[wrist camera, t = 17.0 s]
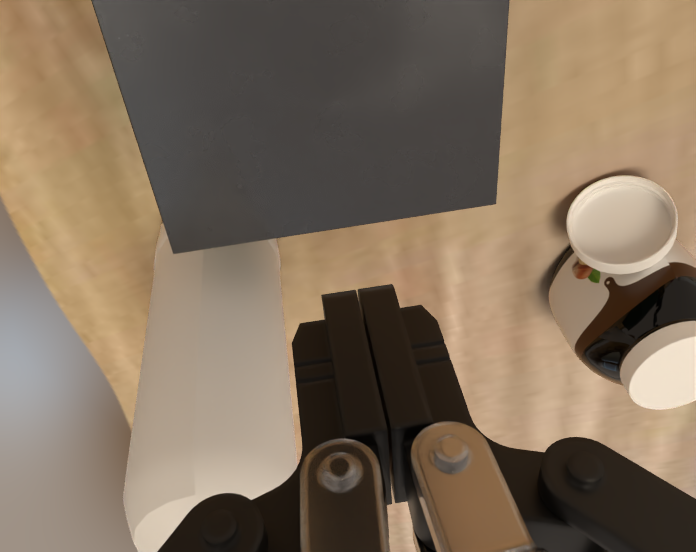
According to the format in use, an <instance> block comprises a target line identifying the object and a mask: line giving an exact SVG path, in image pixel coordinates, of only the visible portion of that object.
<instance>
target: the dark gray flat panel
mask: <svg viewBox="0 0 696 552" xmlns="http://www.w3.org/2000/svg"><path fill="white" fill-rule="evenodd" d="M91 1H92V4H93V7H94V10H95V13H96V16H97V19H98V23H99V26H100V29H101V32H102V35H103V38H104V41H105V44H106V47H107V50H108V54H109V57H110V60H111V63H112V66H113V69H114V72H115V75H116V78H117V81H118V84H119V88H120V91H121V94H122V97H123V100H124V103H125V106H126V109H127V112H128V115H129V119H130V122H131V125H132V128H133V131H134V134H135V137H136V140H137V143H138V146H139V149H140V153H141V156H142V159H143V162H144V165H145V168H146V171H147V174H148V177H149V180H150V184H151V187H152V190H153V193H154V196H155V199H156V202H157V205H158V208H159V211H160V214H161V218H162V221H163V224H164V227H165V230H166V233H167V236H168V239H169V242H170V245H171V249H172V252H173V254H178V253H184V252H191V251H197V250H204V249H210V248H216V247H223V246H229V245H236V244H242V243H249V242H255V241H261V240H268V239H274V238H281V237H287V236H294V235H300V234H307V233H313V232H319V231H326V230H332V229H339V228H345V227H352V226H358V225H364V224H371V223H377V222H384V221H390V220H397V219H403V218H409V217H416V216H422V215H429V214H435V213H442V212H448V211H454V210H461V209H467V208H474V207H480V206H487V205H493V204H496V196H497V181H498V165H499V150H500V135H501V119H502V104H503V89H504V74H505V58H506V43H507V28H508V13H509V0H91Z"/></svg>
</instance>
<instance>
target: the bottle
mask: <svg viewBox="0 0 696 552" xmlns="http://www.w3.org/2000/svg"><path fill="white" fill-rule="evenodd" d="M280 269H281V262H280V254H279V249H278V243H277V238H274V239H268V240H261V241H255V242H249V243H242V244H236V245H229V246H223V247H216V248H210V249H204V250H197V251H191V252H184V253H178V254H173V252H172V249H171V245H170V242H169V239H168V236H167V233H166V230H165V227H164V224H163V223H162V224H161V228H160V234H159V236H158V239H157V244H156V252H155V260H154V278H153V285H152V292H151V300H150V307H149V314H148V321H147V328H146V335H145V342H144V349H143V357H142V364H141V371H140V378H139V385H138V392H137V399H136V406H135V413H134V421H133V428H132V435H131V442H130V449H129V456H128V463H127V470H126V478H125V485H124V493H123V503H124V509H125V513H126V518H127V522H128V525H129V529H130V532H131V536H132V539H133V543H134V544H135V546H136V548H137V550H138V552H158V550H159V549H160V548H161V547H162V545H163V544H164V543H165V542H166V540H167V539H168V538H169V536H170V535H171V534H172V533H173V531H174V530H175V529H176V528H177V526H178V525H179V524H180V523H181V521H182V520H183V519H184V518H185V516H186V515H187V514H188V513H189V512H190V511H191V509H192V508H193V507H195V506H196V505H197V504H198V503H199V502H201V501H203V500H204V499H206V498H208V497H211V496H213V495H217V494H222V493H235V494H240V495H243V496H245V497H247V498H249V499H250V500H253V499H255V498H257V497H259V496H261V495H263V494H265V493H267V492H269V491H271V490H273V489H274V488H276V487H278V486H280V485H281V484H282V483H284V482H285V481H286V480H287V479H288V478H289V477H290V476H291V475H292V474H293V472H294V471H295V470H296V468H297V455H296V444H295V433H294V422H293V411H292V400H291V389H290V378H289V367H288V356H287V345H286V335H285V324H284V313H283V302H282V291H281V280H280Z"/></svg>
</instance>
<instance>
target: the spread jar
mask: <svg viewBox="0 0 696 552" xmlns="http://www.w3.org/2000/svg"><path fill="white" fill-rule="evenodd" d="M566 225H567V233H568V237H569V241H570V244H571V247H570V249H569V250H568V251H567V252H566V254H565V255H564V256H563V258H562V259H561V261H560V263H559V264H558V266H557V268H556V270H555V272H554V275H553V278H552V280H551V283H550V288H549V304H550V308H551V311H552V314H553V316H554V318H555V320H556V322H557V324H558V326H559V328H560V330H561V332H562V333H563V335H564V337H565V339H566V340H567V342H568V344H569V345H570V347H571V349H572V350H573V351H574V353H575V354H576V355H577V357H578V358H579V359H580V360H581V361H582V362H583V363H584V364H585V365H586V366H587V367H588V368H589V369H591V370H592V371H593V372H594V373H596V374H598V375H599V376H601V377H603V378H605V379H606V380H608V381H611V382H614V383H616V384H620V385H623V386H624V387H625V389H626V390H627V392H628V394H629V395H630V397H631V398H632V400H633V401H634V402H635V403H636V404H638V405H639V406H642V407H644V408H648V409H670V408H675V407H679V406H682V405H685V404H688V403H691V402H693V401H695V400H696V259H695V258H694V257H693V255H692V254H691V253H690V252H689V251H688V250H687V249H686V248H685V247H684V246H683V245H682V244H681V243H680V242H679V241H678V240H676V239H675V238H676V234H677V225H678V215H677V208H676V206H675V203H674V201H673V199H672V198H671V196H670V195H669V194H668V192H667V191H665V190H664V189H663V188H662V187H661V186H659V185H658V184H656V183H654V182H653V181H650V180H648V179H645V178H642V177H637V176H625V175H621V176H613V177H609V178H605V179H602V180H599V181H597V182H595V183H593V184H591V185H590V186H588V187H587V188H585V189H584V190H583V191H582V192H581V193H580V194H579V195H578V196H577V197H576V198H575V199H574V201H573V202H572V204H571V206H570V208H569V211H568V214H567V219H566Z"/></svg>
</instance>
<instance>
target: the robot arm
mask: <svg viewBox="0 0 696 552" xmlns="http://www.w3.org/2000/svg"><path fill="white" fill-rule="evenodd" d="M358 300H359V301H358ZM322 303H323V310H324V318H325V320H319V321H313V322H306V323H300V325H299V327H298V330H297V332H296V334H295V337H294V339H293V342H292V349H293V359H294V367H295V378H296V388H297V397H298V407H299V416H300V426H301V436H302V456H301V459H300V462H299V464H298V466H297V468H296V470H295V471H294V472H293V474H292V475H291V476H290V477H289V478H288V479H287V480H286V481H285V482H284V483H282V484H281V485H280V486H278V487H276V488H274V489H273V490H271V491H269V492H267V493H265V494H263V495H261V496H259V497H257V498H255V499H253V500H250V499H249V498H247V497H245V496H243V495H240V494H235V493H222V494H217V495H213V496H211V497H208V498H206V499H204V500H203V501H201V502H199V503H198V504H197V505H196V506H195V507H193V508H192V509H191V511H190V512H189V513H188V514H187V515H186V516H185V518H184V519H183V520H182V521H181V523H180V524H179V525H178V526H177V528H176V529H175V530H174V531H173V533H172V534H171V535H170V536H169V538H168V539H167V540H166V542H165V543H164V544H163V545H162V547H161V548H160V549H159V550H158V552H390V548H389V529H388V514H387V505H389V504H392V497H391V485H392V490H393V495H394V499H395V503H400V502H405V501H408V506H409V510H410V514H411V519H412V523H413V540H414V544H415V548H416V551H417V552H696V499H695V498H693V497H691V496H690V495H688V494H686V493H684V492H683V491H681V490H679V489H678V488H676V487H674V486H673V485H671V484H669V483H668V482H666V481H664V480H663V479H661V478H659V477H657V476H656V475H654V474H652V473H651V472H649V471H647V470H646V469H644V468H642V467H641V466H639V465H637V464H636V463H634V462H632V461H630V460H629V459H627V458H625V457H624V456H622V455H620V454H619V453H617V452H615V451H614V450H612V449H610V448H608V447H607V446H605V445H603V444H601V443H599V442H597V441H594V440H591V439H587V438H582V437H569V438H564V439H561V440H559V441H556V442H555V443H553V444H552V445H551V446H549V447H548V448H547V450H546V451H545V453H544V452H537V451H529V450H521V449H514V448H509V447H506V446H503V445H500V444H498V443H496V442H493V441H492V440H490V439H489V438H487V437H486V436H485V435H483V434H482V433H481V432H480V431H479V430H478V429H477V427H476V426H475V424H474V423H473V421H472V419H471V416H470V414H469V411H468V408H467V405H466V402H465V399H464V396H463V393H462V391H461V388H460V385H459V382H458V379H457V376H456V373H455V371H454V368H453V365H452V362H451V360H450V357H449V353H448V350H447V348H446V345H445V344H444V339H443V336H442V333H441V330H440V328H439V325H438V322H437V320H436V319H435V318H434V317H433V316H432V315H431V314H430V313H429V312H428V311H427V310H426V309H425V308H424V307H423V306H422V305H417V306H410V307H404V308H400V306H399V303H398V299H397V296H396V293H395V289H394V286H393V285H392V284H390V285H383V286H376V287H370V288H363V289H358V297H357V293H356V290H351V291H344V292H337V293H331V294H324V295H322Z"/></svg>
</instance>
